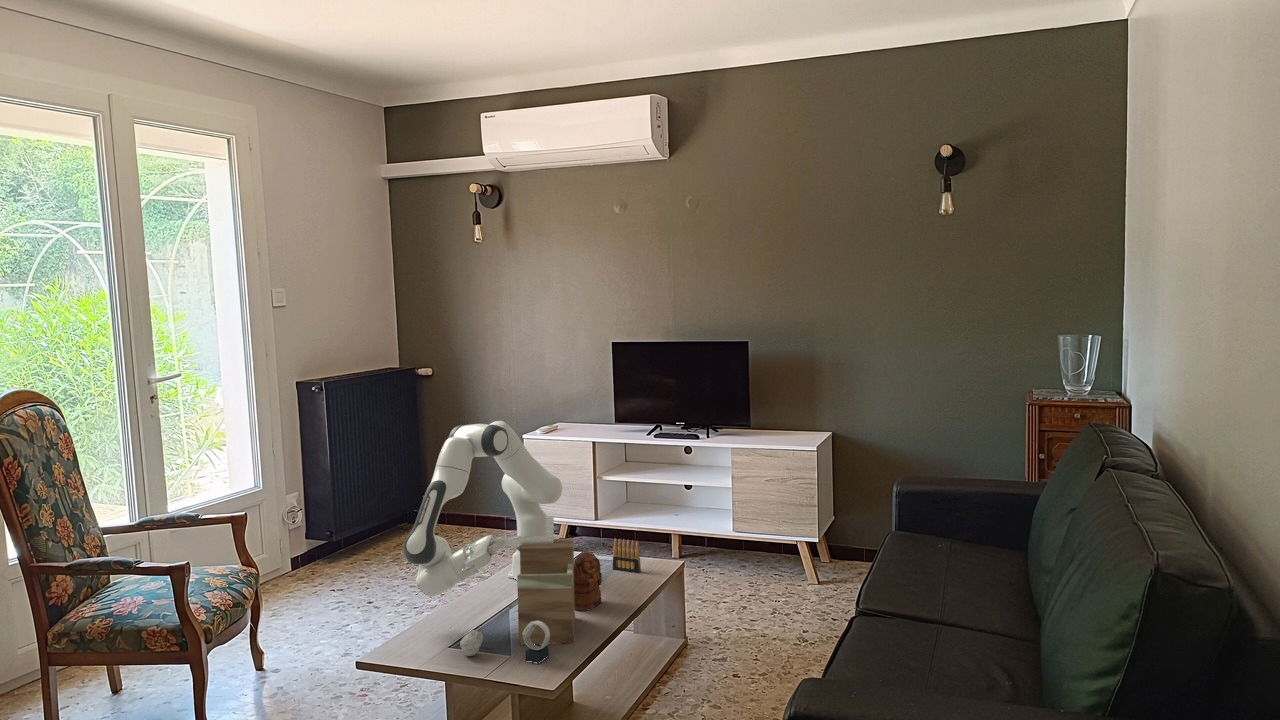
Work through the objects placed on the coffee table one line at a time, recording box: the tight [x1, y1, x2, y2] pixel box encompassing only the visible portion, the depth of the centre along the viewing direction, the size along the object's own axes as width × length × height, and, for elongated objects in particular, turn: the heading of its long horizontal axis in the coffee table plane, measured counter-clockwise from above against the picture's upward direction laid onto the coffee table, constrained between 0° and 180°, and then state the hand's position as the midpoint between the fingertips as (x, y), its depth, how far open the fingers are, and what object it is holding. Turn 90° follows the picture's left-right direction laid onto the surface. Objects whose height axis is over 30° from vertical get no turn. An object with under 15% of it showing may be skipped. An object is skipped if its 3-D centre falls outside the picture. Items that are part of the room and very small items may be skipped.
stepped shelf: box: [516, 537, 576, 646], centre depth 270 cm, size 20×16×26 cm
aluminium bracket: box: [494, 516, 555, 547], centre depth 273 cm, size 3×18×8 cm, turn 93°
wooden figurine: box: [574, 551, 603, 611], centre depth 291 cm, size 12×6×18 cm, turn 148°
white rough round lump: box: [459, 629, 484, 657], centre depth 254 cm, size 6×7×7 cm
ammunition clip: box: [612, 537, 642, 574], centre depth 325 cm, size 11×2×12 cm, turn 67°
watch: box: [522, 620, 550, 663], centre depth 250 cm, size 6×8×11 cm
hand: (504, 539), depth 273 cm, fingers closed on aluminium bracket, 3 cm apart
